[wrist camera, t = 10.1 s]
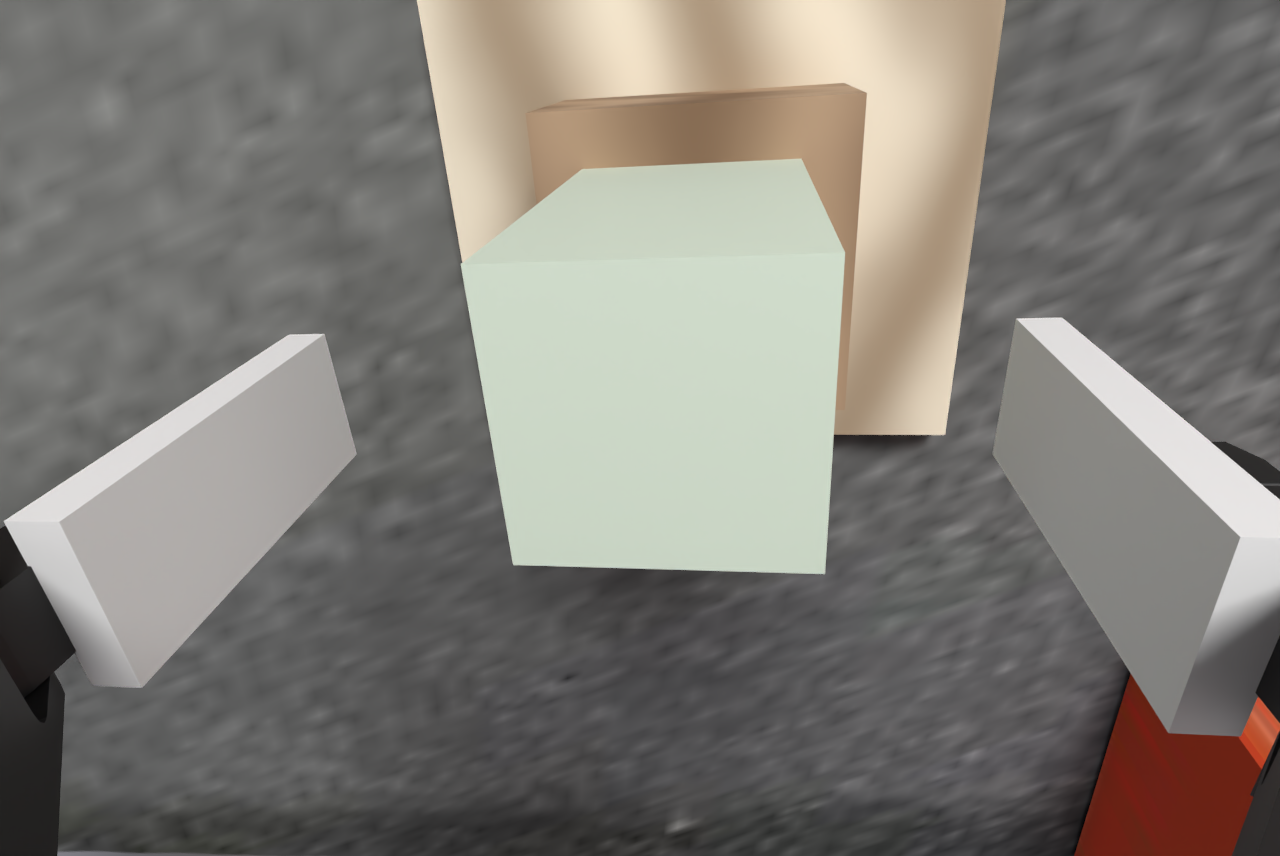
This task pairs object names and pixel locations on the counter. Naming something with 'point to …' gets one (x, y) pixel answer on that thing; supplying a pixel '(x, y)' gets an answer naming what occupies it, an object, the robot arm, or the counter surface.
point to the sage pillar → (664, 368)
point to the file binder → (1173, 785)
